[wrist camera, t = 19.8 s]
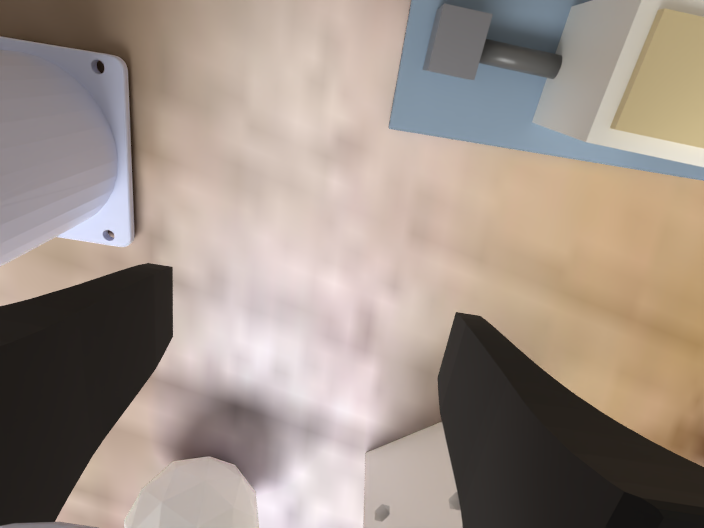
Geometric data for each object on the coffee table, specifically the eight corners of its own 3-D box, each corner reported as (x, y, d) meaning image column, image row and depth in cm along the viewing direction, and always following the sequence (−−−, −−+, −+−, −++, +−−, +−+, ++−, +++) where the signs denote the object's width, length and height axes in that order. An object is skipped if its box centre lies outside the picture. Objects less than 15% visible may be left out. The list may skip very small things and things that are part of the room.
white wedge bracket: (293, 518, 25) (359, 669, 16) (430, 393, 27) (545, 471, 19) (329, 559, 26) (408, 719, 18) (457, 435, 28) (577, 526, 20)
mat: (388, 126, 19) (389, 128, 18) (425, -81, 16) (427, -86, 15) (701, 178, 19) (710, 181, 18) (791, -18, 16) (806, -21, 16)
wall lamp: (415, 97, 18) (430, 109, 13) (444, -22, 16) (473, -60, 11) (631, 143, 18) (726, 172, 13) (680, 30, 16) (808, 16, 11)
